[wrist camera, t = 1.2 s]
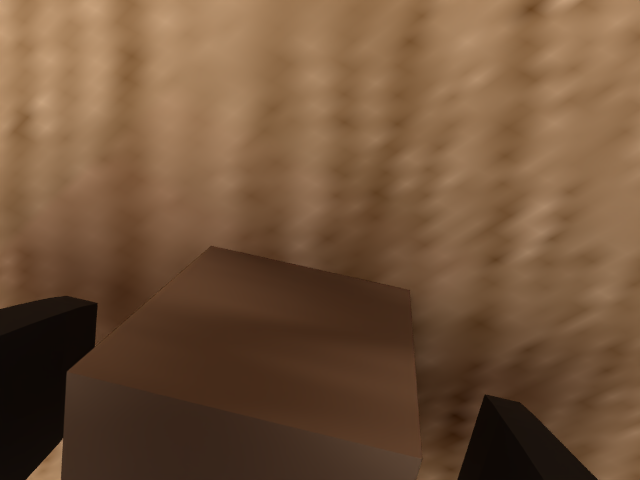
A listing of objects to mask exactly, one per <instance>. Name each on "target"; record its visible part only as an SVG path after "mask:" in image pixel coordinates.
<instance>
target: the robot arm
mask: <svg viewBox="0 0 640 480" xmlns="http://www.w3.org/2000/svg"><path fill="white" fill-rule="evenodd" d="M97 304H98V303H94V302H90V301H86V300H82V299H77V298H73V297H69V296H63V297H54V298H48V299H43V300H38V301H33V302H29V303H24V304H20V305H15V306H11V307H7V308H3V309H0V480H26V479H27V478H28V477H29V476H30V474H31V473H32V472H33V471H34V470H35V469H36V468H37V467H38V466H39V465H40V464H41V462H42V461H43V460H44V459H45V458H46V457H47V456H48V455H49V454H50V453H51V451H52V450H53V449H54V448H55V447H56V446H57V445H58V444H59V443H60V441H61V440H62V438H63V434H64V414H65V395H66V376H67V371H68V370H69V369H70V368H72V367H73V366H74V365H75V364H76V363H77V362H78V361H80V360H81V359H82V358H83V357H84V356H85V355H87V354H88V353H89V352H90V351H91V350H92V349H93V348H95V333H96V318H97ZM458 480H598V479H597V478H596V477H595V476H594V475H593V474H592V473H591V472H590V471H589V470H588V469H587V468H586V467H585V466H584V465H583V464H582V463H581V462H580V461H579V460H578V459H577V458H576V457H575V456H574V455H573V454H572V453H571V452H570V451H569V450H568V449H567V448H566V447H565V446H564V445H563V444H562V443H561V442H560V441H559V440H558V439H557V438H556V437H555V436H554V435H553V434H552V433H551V432H550V431H549V430H548V429H547V428H546V427H545V426H544V425H543V424H542V423H541V422H540V421H539V420H538V419H537V418H536V417H535V416H534V415H533V414H532V413H531V412H530V411H529V410H528V409H527V408H526V407H524V406H523V405H522V404H521V403H520V402H515V401H511V400H507V399H503V398H498V397H494V396H490V395H486V394H485V395H484V398H483V402H482V405H481V408H480V411H479V414H478V417H477V420H476V423H475V427H474V430H473V433H472V436H471V439H470V442H469V445H468V449H467V452H466V455H465V458H464V461H463V464H462V467H461V470H460V474H459V477H458Z"/></svg>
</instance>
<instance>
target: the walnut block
mask: <svg viewBox="0 0 640 480" xmlns="http://www.w3.org/2000/svg"><path fill="white" fill-rule="evenodd" d="M421 462H422V448H421V434H420V421H419V408H418V394H417V381H416V368H415V355H414V341H413V328H412V315H411V301H410V290H407V289H402V288H398V287H393V286H389V285H384V284H380V283H375V282H371V281H366V280H362V279H357V278H353V277H348V276H344V275H339V274H335V273H330V272H326V271H321V270H317V269H313V268H308V267H304V266H299V265H295V264H290V263H286V262H281V261H277V260H272V259H268V258H263V257H259V256H254V255H250V254H245V253H241V252H236V251H232V250H227V249H223V248H218V247H214V246H210V247H209V248H208V249H207V250H206V251H205V252H204V253H202V254H201V255H200V256H199V257H198V258H197V259H196V260H194V261H193V262H192V263H191V264H190V265H189V266H188V267H186V268H185V269H184V270H183V271H182V272H181V273H179V274H178V275H177V276H176V277H175V278H174V279H173V280H171V281H170V282H169V283H168V284H167V285H166V286H165V287H163V288H162V289H161V290H160V291H159V292H158V293H157V294H155V295H154V296H153V297H152V298H151V299H150V300H148V301H147V302H146V303H145V304H144V305H143V306H142V307H140V308H139V309H138V310H137V311H136V312H135V313H134V314H132V315H131V316H130V317H129V318H128V319H127V320H126V321H124V322H123V323H122V324H121V325H120V326H119V327H118V328H116V329H115V330H114V331H113V332H112V333H111V334H109V335H108V336H107V337H106V338H105V339H104V340H103V341H101V342H100V343H99V344H98V345H97V346H96V347H95V348H93V349H92V350H91V351H90V352H89V353H88V354H87V355H85V356H84V357H83V358H82V359H81V360H80V361H78V362H77V363H76V364H75V365H74V366H73V367H72V368H70V369H69V370H68V371H67V376H66V395H65V414H64V434H63V453H62V472H61V480H416V479H417V476H418V472H419V469H420V465H421Z"/></svg>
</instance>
